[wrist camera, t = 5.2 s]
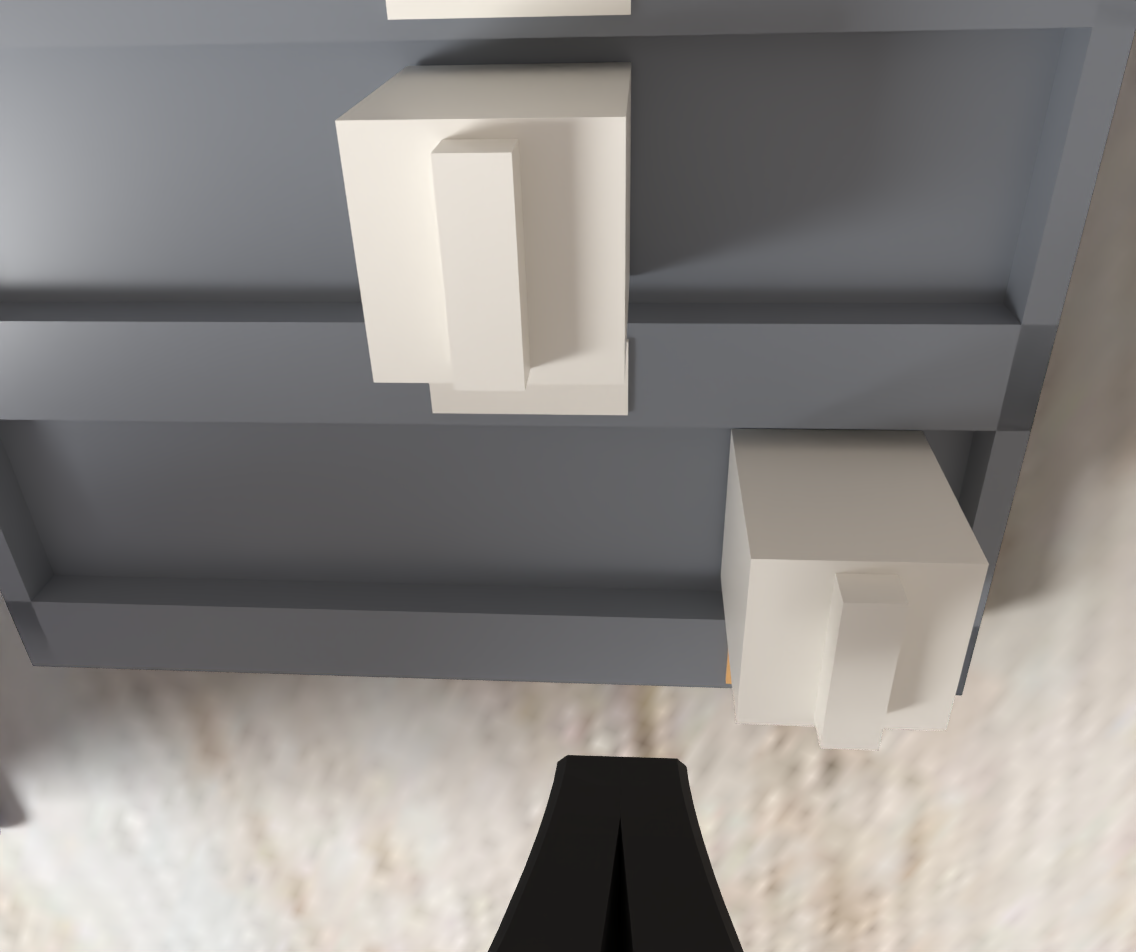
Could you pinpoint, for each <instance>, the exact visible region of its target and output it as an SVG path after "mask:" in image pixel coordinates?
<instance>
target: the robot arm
mask: <svg viewBox="0 0 1136 952" xmlns="http://www.w3.org/2000/svg"><path fill="white" fill-rule="evenodd" d="M0 834H1V831H0ZM488 952H743V949H742V947H741V944H740V942H739V939H738V936H737V934H736V931H735V929H734V926H733V924H732V921H731V919H730V916H729V913H728V911H727V908H726V906H725V903H724V901H723V898H722V895H721V892H720V889H719V887H718V884H717V881H716V878H715V875H714V872H713V869H712V866H711V863H710V860H709V857H708V854H707V851H706V847H705V844H704V841H703V838H702V834H701V831H700V827H699V824H698V820H697V816H696V812H695V809H694V805H693V800H692V795H691V791H690V786H689V781H688V774H687V767H686V766H685V765H684V764H683V763H682V762H680V761H679V760H678V759H671V758H640V757H609V756H577V755H567V756H566V757H564V758H563V759H561V760H560V761H559V762H558V763H557V768H556V773H555V777H554V782H553V786H552V789H551V793H550V797H549V800H548V804H547V807H546V810H545V813H544V816H543V819H542V822H541V825H540V828H539V831H538V834H537V837H536V839H535V842H534V845H533V847H532V850H531V853H530V855H529V858H528V861H527V863H526V866H525V868H524V871H523V873H522V875H521V878H520V880H519V882H518V885H517V887H516V889H515V892H514V894H513V896H512V899H511V901H510V903H509V906H508V908H507V910H506V913H505V915H504V917H503V920H502V922H501V924H500V927H499V929H498V931H497V933H496V936H495V938H494V940H493V942H492V944H491V946H490V948H489V950H488Z"/></svg>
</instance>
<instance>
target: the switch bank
mask: <svg viewBox="0 0 1136 952" xmlns="http://www.w3.org/2000/svg"><path fill="white" fill-rule="evenodd" d="M1135 30H1136V0H0V591H1V593H2V595H3V598H4V600H5V602H6V604H7V607H8V609H9V611H10V614H11V616H12V618H13V621H14V623H15V625H16V628H17V630H18V632H19V635H20V637H21V639H22V642H23V644H24V646H25V649H26V651H27V653H28V656H29V658H30V660H31V663H32V665H33V666H51V667H82V668H114V669H146V670H177V671H209V672H240V673H272V674H303V675H335V676H367V677H398V678H430V679H461V680H493V681H525V682H556V683H588V684H619V685H651V686H683V687H714V688H732V682H731V672H730V663H729V653H728V643H727V634H726V624H725V614H724V605H723V595H722V585H721V564H722V551H723V537H724V523H725V509H726V495H727V482H728V468H729V454H730V440H731V429H807V430H894V431H923V433H924V435H925V437H926V439H927V441H928V443H929V445H930V447H931V449H932V451H933V453H934V455H935V457H936V459H937V461H938V463H939V465H940V467H941V469H942V471H943V473H944V475H945V477H946V479H947V481H948V483H949V485H950V487H951V489H952V491H953V493H954V495H955V497H956V499H957V501H958V503H959V505H960V507H961V509H962V511H963V513H964V515H965V517H966V519H967V521H968V523H969V525H970V527H971V529H972V531H973V533H974V535H975V537H976V539H977V541H978V543H979V545H980V547H981V549H982V551H983V553H984V555H985V557H986V559H987V561H988V563H989V566H988V570H987V574H986V578H985V581H984V585H983V589H982V593H981V597H980V601H979V605H978V609H977V613H976V617H975V620H974V624H973V628H972V632H971V636H970V640H969V644H968V648H967V652H966V656H965V660H964V663H963V667H962V671H961V675H960V679H959V683H958V687H957V691H956V695H962V693H963V689H964V685H965V681H966V677H967V673H968V670H969V666H970V662H971V658H972V654H973V650H974V647H975V643H976V639H977V635H978V631H979V627H980V624H981V620H982V616H983V612H984V608H985V604H986V601H987V597H988V593H989V589H990V585H991V581H992V578H993V574H994V570H995V566H996V562H997V558H998V555H999V551H1000V547H1001V543H1002V539H1003V535H1004V532H1005V528H1006V524H1007V520H1008V516H1009V512H1010V509H1011V505H1012V501H1013V497H1014V493H1015V489H1016V486H1017V482H1018V478H1019V474H1020V470H1021V466H1022V463H1023V459H1024V455H1025V451H1026V447H1027V443H1028V440H1029V436H1030V432H1031V428H1032V424H1033V420H1034V417H1035V413H1036V409H1037V405H1038V401H1039V397H1040V394H1041V390H1042V386H1043V382H1044V378H1045V374H1046V371H1047V367H1048V363H1049V359H1050V355H1051V351H1052V348H1053V344H1054V340H1055V336H1056V332H1057V328H1058V325H1059V321H1060V317H1061V313H1062V309H1063V305H1064V302H1065V298H1066V294H1067V290H1068V286H1069V282H1070V279H1071V275H1072V271H1073V267H1074V263H1075V259H1076V256H1077V252H1078V248H1079V244H1080V240H1081V236H1082V233H1083V229H1084V225H1085V221H1086V217H1087V213H1088V210H1089V206H1090V202H1091V198H1092V194H1093V191H1094V187H1095V183H1096V179H1097V175H1098V171H1099V168H1100V164H1101V160H1102V156H1103V152H1104V148H1105V145H1106V141H1107V137H1108V133H1109V129H1110V125H1111V122H1112V118H1113V114H1114V110H1115V106H1116V102H1117V99H1118V95H1119V91H1120V87H1121V83H1122V79H1123V76H1124V72H1125V68H1126V64H1127V60H1128V56H1129V53H1130V49H1131V45H1132V41H1133V37H1134V33H1135ZM604 62H631V165H630V282H629V302H628V323H627V344H626V364H625V385H617V384H527V385H526V389H525V391H454V383H374V381H373V374H372V367H371V360H370V354H369V347H368V340H367V333H366V327H365V320H364V313H363V306H362V300H361V293H360V286H359V279H358V273H357V266H356V259H355V252H354V245H353V239H352V232H351V225H350V218H349V212H348V205H347V198H346V191H345V185H344V178H343V171H342V164H341V158H340V151H339V144H338V137H337V130H336V124H335V120H336V119H338V118H339V117H340V116H342V115H343V114H344V113H346V112H347V111H348V110H350V109H351V108H352V107H354V106H355V105H356V104H358V103H359V102H360V101H362V100H363V99H364V98H366V97H367V96H368V95H370V94H371V93H372V92H374V91H375V90H376V89H378V88H379V87H380V86H382V85H383V84H384V83H386V82H387V81H388V80H390V79H391V78H392V77H394V76H395V75H396V74H397V73H399V72H400V71H401V70H403V69H404V68H405V67H407V66H429V65H487V64H546V63H604Z"/></svg>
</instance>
